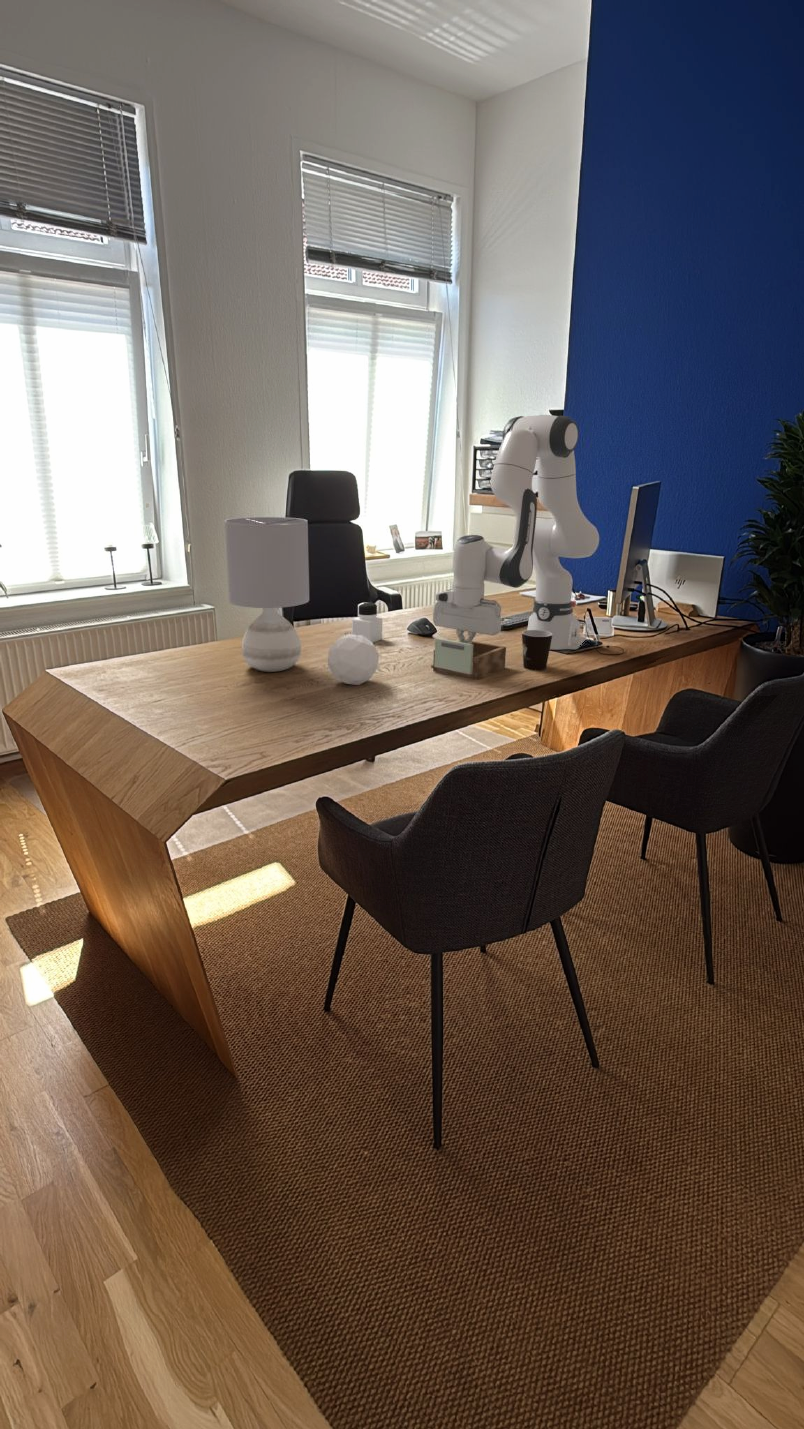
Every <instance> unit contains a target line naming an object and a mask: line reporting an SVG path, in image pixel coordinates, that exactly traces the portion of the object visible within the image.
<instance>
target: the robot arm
mask: <svg viewBox="0 0 804 1429" xmlns="http://www.w3.org/2000/svg"><path fill="white" fill-rule="evenodd" d="M579 435H580V434H579V427H578V424H577V423H576V421H575V420H574V419H573V418H571V417H570V416H567V415H566V416H565V415H551V414H538V415H528V416H524V415H521V416H519V415H518V416H515V417H513V418H510V419H509V420H508V421H507V423H506V424H505V426H504V428H503V431H502V441H501V444H500V445H499V449H498V451H497V454H496V457H495V460H494V464H493V469H492V471H491V475H490V489H491V491H492V493H493V495H494V496H495V497H496V499H498V501H500V502H501V503H503V504H504V505H507V506H508V507H510V508H511V509H512V511H513V512H514V515H515V523H514V524H515V525H514V532H513V533H514V535H513V542H512V543H513V544H512V545H511V547H510V548H506V547H505V548H504V547H498V546H493V545H491V544H489V543H488V542H487V541H485V537H483V536H482V535H479V534H470V535H469V534H468V535H463V536H461V537H459V538H458V539H456V542H455V546H454V548H453V549H454V550H453V555H452V556H453V557H452V572H453V580H452V583H451V588H450V589H446V590H444V591H440V592H438V593H436V594H435V601H436V602H435V604H434V605H433V606H434V607H433V612H432V622H433V624H434V626H435V627H442V628H445V629H446V628H447V629H452V630H456V635H457V638H458V640H459V641H460V642H462V643H468V644H472V641H474V638H475V637H476V635H477V634H481V635H487V636H496V635H499V634H500V632H501V630H502V617H501V614H502V606H501V604H500V603H498V601H497V600H494V599H493V600H491V599H486V598H485V586H486V585H485V582H489V583H492V584H499V585H503V586H506V587H510V588H513V589H517V588H520V587H522V586H523V585H525V584H526V583H527V582H528V581H529V580H530V578H531V577H532V575H533V570H534V572H535V599H534V600H533V604H532V608H533V609H532V611H533V613H532V614H531V615H530V616H528V617H529V618H528V625H527V629H526V630H543V631H548V632H551V633H552V634H553V635H552V640H551V645H550V650H553V651H556V650H557V651H558V650H578V649H579V648H580V647H581V646H583V644H584V643H585V642H586V641H587V636H584V635H580V632H581V622H580V621H579V620H578V619H577V618H576V616H575V615H574V613H573V612H574V608H575V607H576V604H577V601H576V600H572V593H573V577H572V574H571V573H570V571H568V570H567V569H565V567H563V566H562V564H561V562H560V559H559V558H569V559H582V558H588V557H591V556H592V555H594V554H595V552H596V550H597V549H598V547H599V543H600V535H599V534H600V533H599V532H598V529H597V527H596V526H595V525H593V524H592V523H591V522H590V521H589V520H588V518H587V517H586V516H585V515H584V513H583V511H582V509H581V506H580V504H579V500H578V496H577V481H576V480H577V476H576V473H577V471H576V458H575V449H576V447H577V444H578V441H579ZM537 458H538V459H537ZM536 462H537V495H536V493H535V492H534V491H533V477H534V472H535V468H536ZM537 496H538V497H537ZM538 501H539V504H540V505H541V506H542V507H543V508H544V509H545V510H547V511H548V512H549V513H550V514H551V515H552V517H553V518H552V519H551V518H537V514H538V513H537V512H538ZM465 632H467V636H468V638H466V637H465V634H464V633H465ZM585 640H586V641H585ZM584 641H585V642H584ZM583 642H584V643H583ZM582 643H583V644H582ZM580 645H581V646H580Z"/></svg>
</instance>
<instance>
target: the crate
mask: <svg viewBox="0 0 804 1429" xmlns="http://www.w3.org/2000/svg"><path fill="white" fill-rule="evenodd" d="M458 642H460V640H459V641H458ZM472 644H473V663H472V673H471V674H467V673H462V672H458V671H453V670H448V669H443V668H438V667H434V661H435V649H433V660H432V661H433V664H431V665H430V668H431V669H432V671H433V672H435V673H441V674H447V675H452V676H456V677H461V678H466V679H471V680H475V679H477V680H479V679H481V677H482V678H484V677H485V676H488V675H491V674H493V673H496V672H498V671H500V670H503V669H504V668H506V655H507V647H506V646H501V645H495V644H490V643H485V642H478V641H474V640H472ZM502 668H503V669H502ZM497 670H498V671H497ZM495 671H496V672H495ZM492 672H493V673H492ZM490 673H491V674H490Z"/></svg>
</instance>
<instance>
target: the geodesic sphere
mask: <svg viewBox="0 0 804 1429" xmlns="http://www.w3.org/2000/svg"><path fill="white" fill-rule="evenodd" d="M327 657H328V658H327V666H328V668H329V670H330V672H331V674H332V676H333V677H334V678H336V679H337V680H339V681H341V682H342V683H343V684H346V685H347V684H348V685H355V686H360V685H362V684H363V683H366V682H367V681H368V680H370V679H371V678H372V677H373V675H374V674H375V672H376V671H377V670H378V666H379V658H380V653H379V652H378V651H377V649H376V646H375V645H374V642H373V643H372V642H371V641H369V640H368V639H367V638H365V637H364V636H362V635H357V633H356V635H355V634H354V635H353V633H352V632H348V631H347V632H344V635H343V636H341V637H339V638H338V639H336V640H335V642H334V643H333V644H332V645H331V647H330V648H329V649H328V656H327Z"/></svg>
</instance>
